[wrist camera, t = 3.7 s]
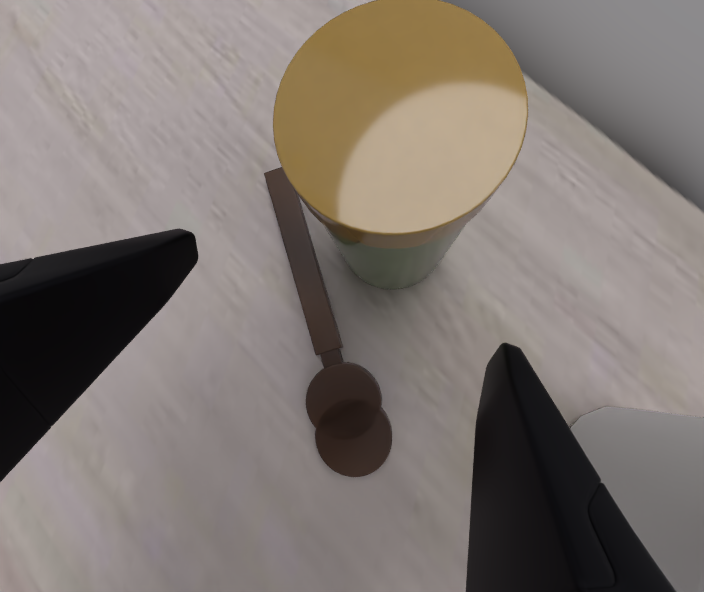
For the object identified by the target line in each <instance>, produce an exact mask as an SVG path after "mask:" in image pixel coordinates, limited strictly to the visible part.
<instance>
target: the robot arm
mask: <svg viewBox="0 0 704 592" xmlns="http://www.w3.org/2000/svg"><path fill="white" fill-rule="evenodd" d="M197 261H198V251H197V245H196V239H195V236H194V234H193V233H192V232H189V231H186V230H183V229H174V230H169V231H164V232H159V233H154V234H149V235H144V236H139V237H134V238H129V239H124V240H119V241H115V242H110V243H105V244H100V245H95V246H90V247H85V248H80V249H75V250H70V251H65V252H60V253H55V254H50V255H45V256H40V257H35V258H34V259H32V258H30V259H25V260H20V261H15V262H10V263H5V264H0V482H1V481H2V480H3V479H4V478H5V476H6V475H7V474H8V473H9V472H10V471H11V470H12V469H13V468H14V467H15V466H16V465H17V464H18V462H19V461H20V460H21V459H22V458H23V457H24V456H25V455H26V454H27V453H28V452H29V451H30V450H31V449H32V447H33V446H34V445H35V444H36V443H37V442H38V441H39V440H40V439H41V438H42V437H43V436H44V435H45V433H46V432H47V431H48V430H49V429H50V428H51V426H52V425H54V423H55V422H56V421H57V420H58V419H59V418H60V417H61V416H62V415H63V414H64V413H65V412H66V411H67V410H68V408H69V407H70V406H71V405H72V404H73V403H74V402H75V401H76V400H77V399H78V398H79V397H80V396H81V394H82V393H83V392H84V391H85V390H86V389H87V388H88V387H89V386H90V385H91V384H92V383H93V382H94V380H95V379H96V378H97V377H98V376H99V375H100V374H101V373H102V372H103V371H104V370H105V369H106V368H107V367H108V365H109V364H110V363H111V362H112V361H113V360H114V359H115V358H116V357H117V356H118V355H119V354H120V353H121V351H122V350H123V349H124V348H125V347H126V346H127V345H128V344H129V343H130V342H131V341H132V340H133V339H134V338H135V336H136V335H137V334H138V333H139V332H140V331H141V330H142V329H143V328H144V327H145V326H146V325H147V324H148V322H149V321H150V320H151V319H152V318H153V317H154V316H155V315H156V314H157V313H158V312H159V311H160V310H161V308H162V307H163V306H164V305H165V304H166V303H167V302H168V301H169V299H170V298H171V297H172V295H173V294H174V293H175V291H176V290H177V289H178V287H179V286H180V285H181V283H182V282H183V281H184V279H185V278H186V277H187V275H188V274H189V273H190V271H191V270H192V269H193V267H194V266H195V265H196V263H197ZM600 482H601V478H600V477H599V475H598V473H597V472H596V470H595V469H594V467H593V465H592V464H591V462H590V461H589V459H588V457H587V456H586V454H585V452H584V451H583V449H582V448H581V446H580V444H579V443H578V441H577V439H576V438H575V436H574V435H573V433H572V431H571V430H570V428H569V426H568V425H567V423H566V422H565V420H564V418H563V417H562V415H561V413H560V412H559V410H558V409H557V407H556V405H555V404H554V402H553V400H552V399H551V397H550V396H549V394H548V392H547V391H546V389H545V388H544V386H543V384H542V383H541V381H540V379H539V378H538V376H537V375H536V373H535V371H534V370H533V368H532V366H531V365H530V363H529V362H528V360H527V358H526V357H525V355H524V353H523V352H522V350H521V349H520V348H519V347H516V346H514V345H511V344H508V343H502V344H501V345H500V346H499V348H498V349H497V351H496V352H495V354H494V355H493V356H492V358H491V359H490V361H489V363H488V365H487V367H486V371H485V377H484V382H483V387H482V392H481V398H480V403H479V408H478V414H477V420H476V429H475V446H474V463H473V480H472V496H471V513H470V530H469V547H468V564H467V581H466V592H676V590H675V589H674V588H673V586H672V585H671V583H670V582H669V581H668V579H667V578H666V576H665V575H664V574H663V572H662V571H661V569H660V568H659V567H658V565H657V564H656V562H655V561H654V559H653V558H652V557H651V555H650V554H649V552H648V551H647V549H646V548H645V546H644V545H643V543H642V542H641V541H640V539H639V538H638V536H637V535H636V533H635V532H634V530H633V529H632V527H631V526H630V524H629V523H628V521H627V520H626V518H625V516H624V515H623V513H622V512H621V510H620V509H619V507H618V506H617V504H616V502H615V501H614V499H613V498H612V496H611V494H610V493H609V491H608V489H607V488H606V486H605V485H604V483H600Z"/></svg>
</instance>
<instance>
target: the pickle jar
mask: <svg viewBox="0 0 704 592" xmlns="http://www.w3.org/2000/svg"><path fill="white" fill-rule="evenodd" d="M527 120H528V97H527V91H526V86H525V81H524V78H523V75H522V72H521V69H520V66H519V64H518V62H517V60H516V58H515V56H514V54H513V53H512V51H511V50H510V48H509V47H508V45H507V44H506V42H505V41H504V40H503V39H502V38H501V37H500V35H499V34H498V33H497V32H496V31H495V30H494V29H493V28H492V27H490V26H489V25H488V24H487V23H485V22H484V21H483V20H481V19H480V18H478V17H477V16H475V15H474V14H472V13H470V12H469V11H467V10H465V9H462V8H460V7H457V6H455V5H453V4H450V3H447V2H443V1H440V0H376V1H372V2H369V3H366V4H363V5H360V6H357V7H355V8H353V9H350V10H348V11H346V12H344V13H342V14H340V15H339V16H337V17H335V18H334V19H332V20H330V21H329V22H328V23H326V24H325V25H324V26H322V27H321V28H320V29H318V30H317V31H316V32H315V33H314V34H313V35H312V36H311V37H310V38H309V39H308V40H307V41H306V42H305V43H304V44H303V46H302V47H301V48H300V49H299V50H298V52H297V53H296V54H295V56H294V57H293V59H292V61H291V62H290V64H289V65H288V67H287V69H286V71H285V73H284V76H283V78H282V80H281V83H280V86H279V89H278V92H277V95H276V101H275V106H274V115H273V132H274V142H275V146H276V151H277V155H278V158H279V160H280V163H281V166H282V168H283V170H284V172H285V174H286V176H287V178H288V180H289V181H290V183H291V184H292V186H293V187H294V189H295V190H296V192H297V193H298V195H299V196H300V198H301V199H302V201H303V202H304V204H305V205H306V206H307V208H308V209H309V210H310V212H311V213H312V214H313V215H314V216H315V217H316V218H317V219H318V220H319V221H320V222H321V223H322V224H323V225H324V227H325V228H326V230H327V232H328V233H329V235H330V236H331V238H332V240H333V241H334V243H335V244H336V246H337V248H338V249H339V251H340V252H341V254H342V256H343V257H344V259H345V260H346V262H347V264H348V265H349V267H350V268H351V269H352V271H353V272H354V273H355V274H356V275H357V276H358V277H359V278H360V279H362V280H363V281H365V282H366V283H368V284H370V285H373V286H375V287H378V288H382V289H403V288H407V287H410V286H413V285H415V284H417V283H419V282H421V281H422V280H424V279H425V278H426V277H427V276H429V275H430V274H431V273H432V272H433V270H434V269H435V268H436V267H437V265H438V264H439V262H440V261H441V259H442V258H443V257H444V255H445V254H446V252H447V251H448V249H449V248H450V247H451V245H452V244H453V242H454V241H455V239H456V238H457V237H458V235H459V234H460V232H461V231H462V229H463V228H464V227H465V225H466V224H467V223H468V222H469V221H470V220H471V219H472V218H474V217H475V216H476V215H477V214H478V213H479V212H480V211H481V210H482V208H483V207H484V206H485V205H486V204H487V202H488V201H489V200H490V199H491V197H492V196H493V195H494V193H495V192H496V190H497V189H498V188H499V186H500V185H501V184H502V182H503V181H504V180H505V178H506V177H507V175H508V174H509V172H510V170H511V169H512V167H513V165H514V164H515V162H516V159H517V157H518V155H519V152H520V150H521V148H522V144H523V141H524V137H525V133H526V128H527Z"/></svg>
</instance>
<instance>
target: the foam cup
mask: <svg viewBox="0 0 704 592" xmlns="http://www.w3.org/2000/svg"><path fill="white" fill-rule="evenodd" d="M570 430H571V431H572V433H573V435H574V436H575V438H576V439H577V441H578V443H579V444H580V446H581V448H582V449H583V451H584V452H585V454H586V456H587V457H588V459H589V461H590V462H591V464H592V465H593V467H594V469H595V470H596V472H597V473H598V475H599V477H600V478H601V482H600V483H604V485H605V486H606V488H607V489H608V491H609V493H610V494H611V496H612V498H613V499H614V501H615V502H616V504H617V506H618V507H619V509H620V510H621V512H622V513H623V515H624V516H625V518H626V520H627V521H628V523H629V524H630V526H631V527H632V529H633V530H634V532H635V533H636V535H637V536H638V538H639V539H640V541H641V542H642V543H643V545H644V546H645V548H646V549H647V551H648V552H649V554H650V555H651V557H652V558H653V559H654V561H655V562H656V564H657V565H658V567H659V568H660V569H661V571H662V572H663V574H664V575H665V576H666V578H667V579H668V581H669V582H670V583H671V585H672V586H673V588H674V589H675V590H676V592H704V417H697V416H689V415H681V414H673V413H666V412H658V411H650V410H642V409H632V408H618V407H603V408H600V409H598V410H595V411H593V412H590V413H587V414H585V415H582V416H580V418H579V419H578V420H577V421H576V422H575V423H574V424H573V426H572V427H571V428H570Z"/></svg>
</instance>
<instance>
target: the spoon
mask: <svg viewBox="0 0 704 592" xmlns="http://www.w3.org/2000/svg"><path fill="white" fill-rule="evenodd" d="M264 175H265V178H266V182H267V185H268V189H269V192H270V196H271V199H272V203H273V206H274V210H275V213H276V217H277V220H278V224H279V227H280V231H281V234H282V238H283V241H284V245H285V248H286V252H287V255H288V259H289V262H290V266H291V269H292V273H293V276H294V280H295V283H296V287H297V290H298V294H299V297H300V301H301V304H302V308H303V311H304V315H305V318H306V322H307V326H308V329H309V333H310V336H311V340H312V343H313V347H314V350H315V354H316V355H319V354H320V355H321V358H322V362H323V365H324V369H323V370H321V371H320V372H319V373H318V374H317V375H316V376H315V377H314V378H313V380H312V381H311V383H310V385H309V387H308V390H307V395H306V408H307V413H308V416H309V418H310V420H311V422H312V424H313V425H314V426H315V428H316V431H315V439H316V445H317V449H318V452H319V454H320V456H321V458H322V459H323V461H324V462H325V463H326V464H327V465H328V466H329V467H330V468H331V469H332V470H334V471H335V472H337V473H339V474H342V475H345V476H349V477H360V476H365V475H368V474H370V473H372V472H374V471H375V470H377V469H378V468H379V467H380V466H381V465H382V464H383V463H384V462H385V460H386V458H387V457H388V455H389V452H390V449H391V444H392V429H391V424H390V421H389V418H388V416H387V414H386V413H385V411H384V410H383V408H382V407H381V401H382V398H381V392H380V388H379V385H378V383H377V381H376V380H375V378H374V377H373V376H372V374H371V373H370V372H369V371H367V370H366V369H365V368H363V367H361V366H359V365H357V364H354V363H349V362H343V359H342V356H341V353H340V349H339V348H342V347H343V345H342V342H341V338H340V335H339V332H338V328H337V325H336V322H335V318H334V315H333V311H332V308H331V305H330V301H329V298H328V295H327V291H326V288H325V285H324V281H323V278H322V274H321V271H320V268H319V264H318V261H317V258H316V254H315V251H314V247H313V244H312V241H311V237H310V234H309V231H308V227H307V224H306V221H305V217H304V214H303V210H302V207H301V204H300V200H299V197H298V194H297V192H296V190H295V189H294V187H293V186H292V184H291V183H290V181H289V180H288V178H287V176H286V174H285V172H284V170H283V168H282V167H280V168H278V169H275V170H272V171H269V172H266V173H264Z"/></svg>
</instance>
